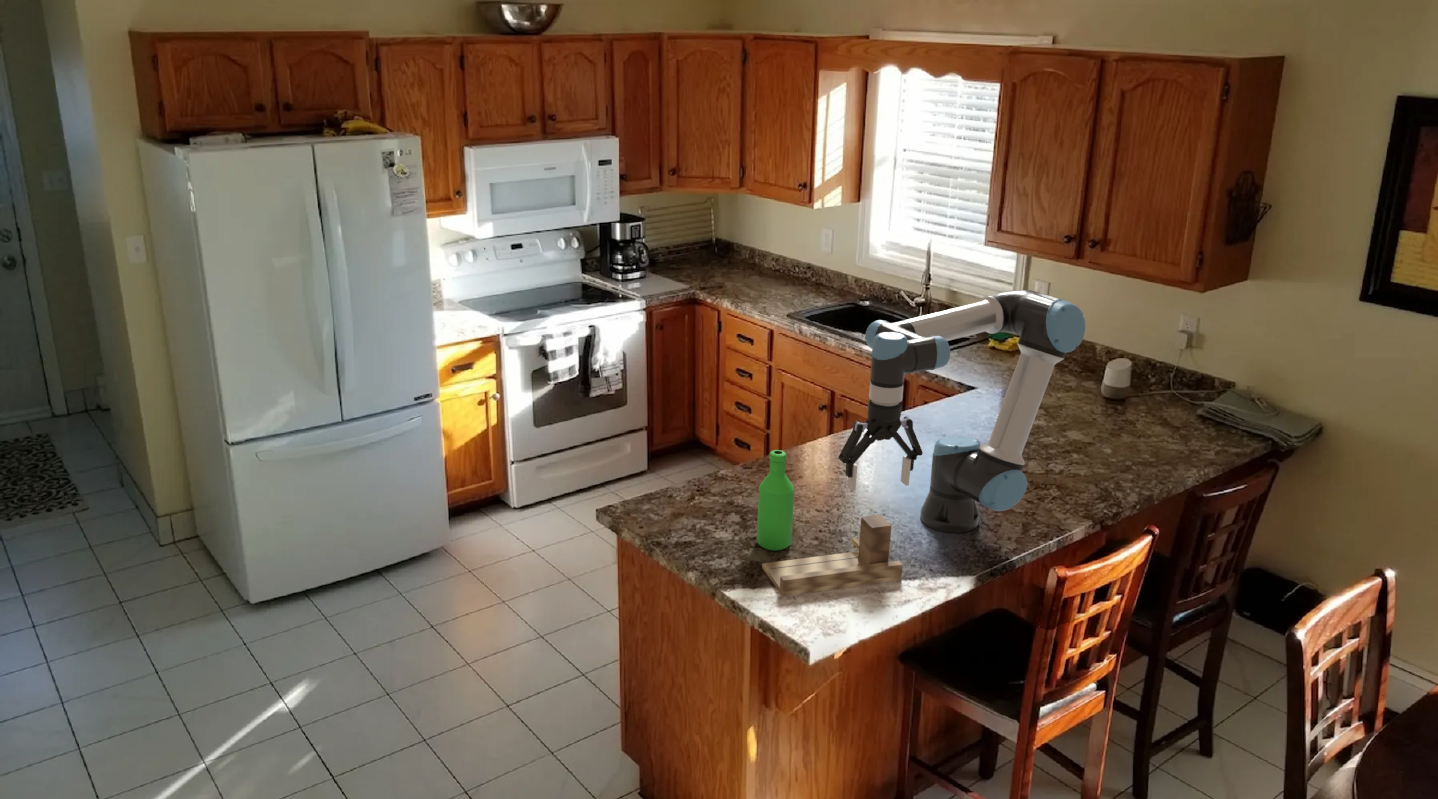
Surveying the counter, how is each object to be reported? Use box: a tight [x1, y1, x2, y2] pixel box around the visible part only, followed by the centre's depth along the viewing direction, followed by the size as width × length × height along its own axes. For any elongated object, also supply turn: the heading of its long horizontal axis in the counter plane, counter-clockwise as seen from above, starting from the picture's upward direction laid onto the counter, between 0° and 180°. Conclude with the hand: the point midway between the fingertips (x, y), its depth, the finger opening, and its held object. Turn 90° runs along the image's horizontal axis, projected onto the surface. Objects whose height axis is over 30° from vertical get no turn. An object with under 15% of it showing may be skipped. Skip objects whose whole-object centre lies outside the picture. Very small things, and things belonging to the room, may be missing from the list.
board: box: [761, 550, 903, 597], centre depth 256 cm, size 30×14×4 cm, turn 107°
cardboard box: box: [851, 514, 892, 565], centre depth 260 cm, size 5×14×12 cm, turn 17°
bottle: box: [756, 449, 795, 552], centre depth 267 cm, size 9×9×25 cm
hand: (878, 486), depth 251 cm, fingers open, 13 cm apart
